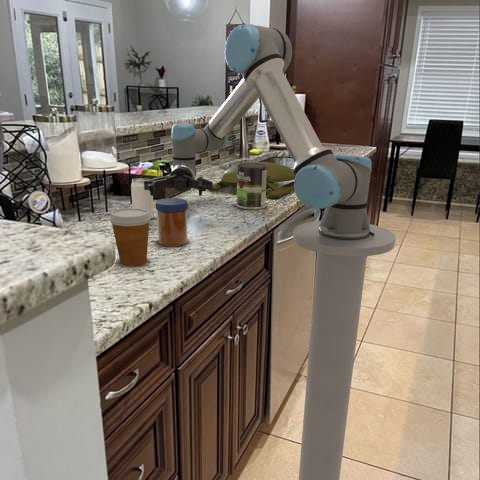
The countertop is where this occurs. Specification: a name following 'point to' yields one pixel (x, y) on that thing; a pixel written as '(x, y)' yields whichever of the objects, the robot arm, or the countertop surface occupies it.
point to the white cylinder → (141, 196)
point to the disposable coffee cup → (131, 234)
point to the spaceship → (273, 175)
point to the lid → (171, 205)
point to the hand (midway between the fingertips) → (175, 190)
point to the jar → (172, 228)
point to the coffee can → (251, 185)
